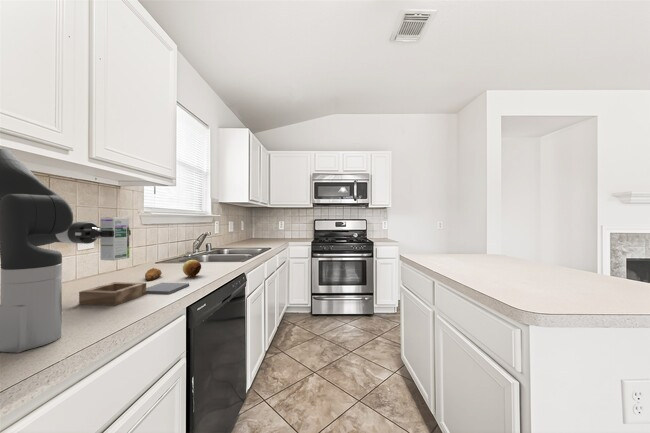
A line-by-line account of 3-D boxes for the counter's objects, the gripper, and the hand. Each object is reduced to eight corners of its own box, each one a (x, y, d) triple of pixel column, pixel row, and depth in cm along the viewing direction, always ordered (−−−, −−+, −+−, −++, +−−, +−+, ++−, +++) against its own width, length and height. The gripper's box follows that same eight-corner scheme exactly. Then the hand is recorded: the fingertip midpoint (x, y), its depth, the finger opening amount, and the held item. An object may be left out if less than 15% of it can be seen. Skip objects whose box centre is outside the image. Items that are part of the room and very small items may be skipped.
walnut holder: (115, 305, 84) (115, 292, 84) (79, 304, 85) (79, 291, 85) (146, 293, 97) (146, 283, 97) (114, 292, 98) (114, 282, 98)
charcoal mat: (169, 294, 96) (169, 291, 96) (139, 293, 98) (139, 290, 98) (189, 285, 108) (189, 283, 108) (162, 284, 109) (162, 282, 109)
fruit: (203, 274, 129) (203, 258, 130) (196, 278, 121) (196, 261, 121) (187, 274, 129) (187, 258, 129) (179, 278, 121) (179, 261, 121)
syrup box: (113, 260, 87) (114, 217, 88) (99, 260, 89) (100, 217, 89) (129, 258, 93) (130, 217, 93) (116, 257, 94) (116, 217, 94)
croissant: (157, 281, 117) (157, 270, 117) (139, 282, 115) (139, 271, 115) (165, 275, 130) (165, 264, 130) (149, 275, 128) (149, 265, 128)
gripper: (55, 222, 85) (102, 222, 84) (97, 221, 99) (138, 222, 98) (54, 245, 85) (102, 246, 83) (97, 241, 99) (138, 242, 98)
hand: (121, 233), depth 91 cm, fingers closed on syrup box, 6 cm apart
